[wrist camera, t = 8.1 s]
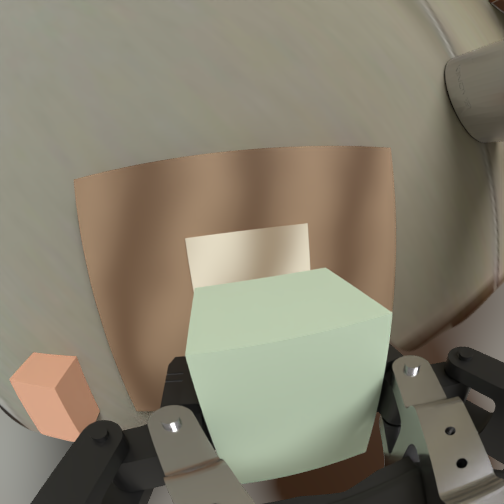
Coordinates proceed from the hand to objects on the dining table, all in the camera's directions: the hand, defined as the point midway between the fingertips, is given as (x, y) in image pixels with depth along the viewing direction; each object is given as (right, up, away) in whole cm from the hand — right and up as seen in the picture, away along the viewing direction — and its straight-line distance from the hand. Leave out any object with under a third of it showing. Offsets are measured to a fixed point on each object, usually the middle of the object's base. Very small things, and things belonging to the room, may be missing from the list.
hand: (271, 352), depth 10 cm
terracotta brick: (-17, -7, +7) cm, 20 cm away
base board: (-1, +2, +8) cm, 8 cm away
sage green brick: (0, 0, +1) cm, 0 cm away
